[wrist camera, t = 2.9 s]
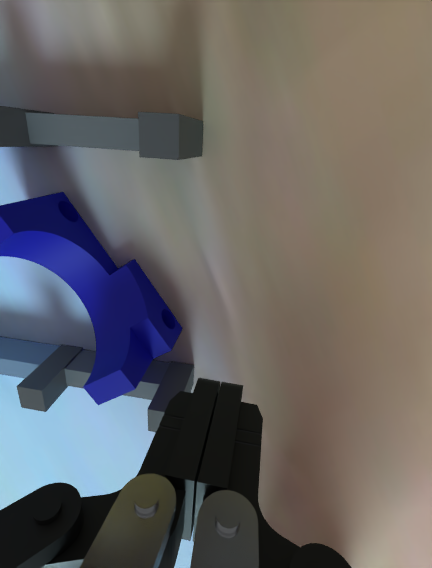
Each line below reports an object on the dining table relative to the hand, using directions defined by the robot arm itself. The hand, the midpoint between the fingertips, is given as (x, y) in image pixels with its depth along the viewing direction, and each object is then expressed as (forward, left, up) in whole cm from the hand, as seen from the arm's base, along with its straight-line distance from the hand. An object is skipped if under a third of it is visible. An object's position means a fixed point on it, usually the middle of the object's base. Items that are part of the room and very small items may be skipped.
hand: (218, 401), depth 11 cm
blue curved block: (+10, +1, -12) cm, 15 cm away
